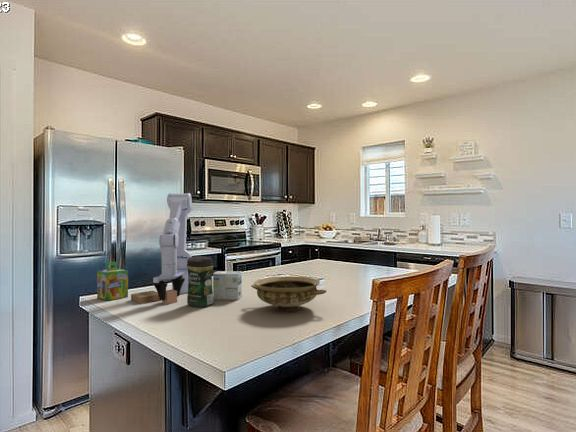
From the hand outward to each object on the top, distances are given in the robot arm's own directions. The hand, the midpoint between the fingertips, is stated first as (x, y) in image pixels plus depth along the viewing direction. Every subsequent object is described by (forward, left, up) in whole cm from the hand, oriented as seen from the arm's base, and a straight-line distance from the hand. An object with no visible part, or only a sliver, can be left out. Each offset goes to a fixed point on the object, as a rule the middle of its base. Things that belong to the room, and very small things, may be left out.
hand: (169, 298), depth 144 cm
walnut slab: (+5, -10, -2) cm, 11 cm away
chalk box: (+13, -25, -2) cm, 28 cm away
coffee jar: (-6, +13, -2) cm, 14 cm away
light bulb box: (-20, +11, -2) cm, 23 cm away
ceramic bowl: (-25, +41, -2) cm, 48 cm away
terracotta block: (0, 0, -2) cm, 2 cm away
